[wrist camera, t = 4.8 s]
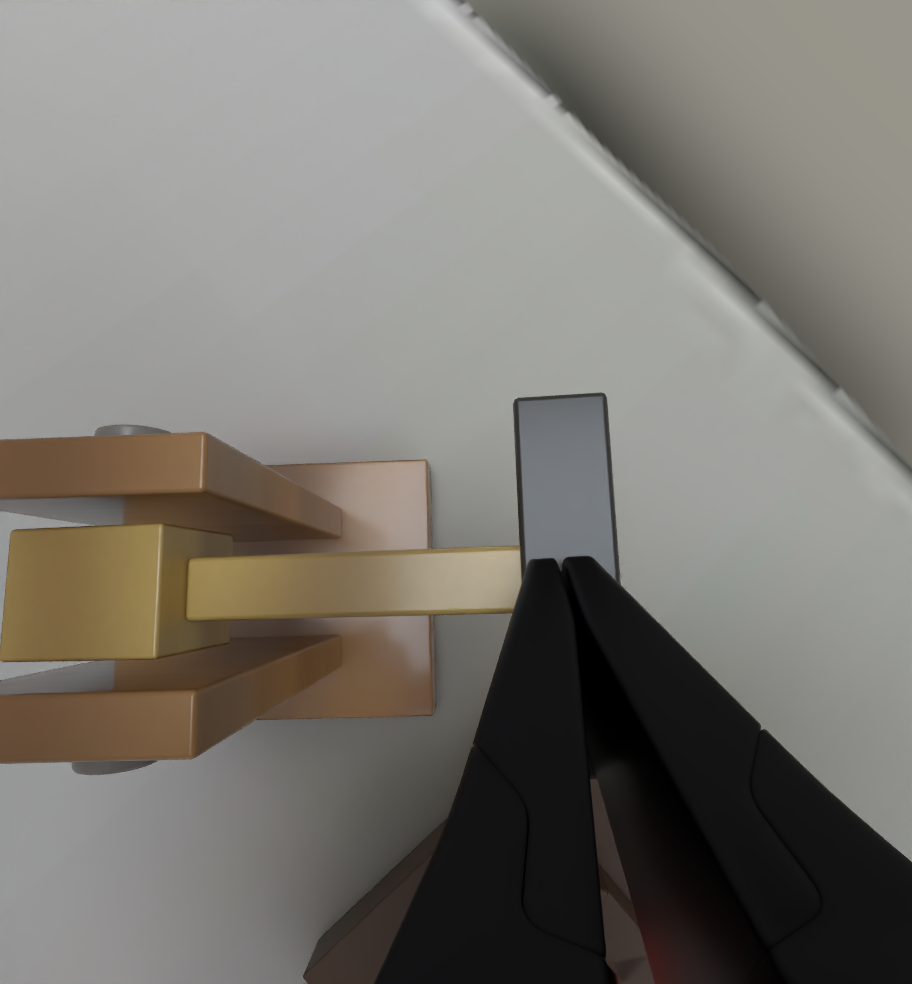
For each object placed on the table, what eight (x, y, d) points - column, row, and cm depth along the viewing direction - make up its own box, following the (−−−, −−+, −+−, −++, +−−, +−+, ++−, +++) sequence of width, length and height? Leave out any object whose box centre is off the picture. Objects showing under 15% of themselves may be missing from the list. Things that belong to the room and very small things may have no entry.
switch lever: (593, 422, 11) (611, 381, 9) (615, 745, 11) (642, 791, 8) (113, 451, 13) (18, 421, 10) (95, 744, 12) (-14, 786, 9)
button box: (737, 923, 18) (800, 1005, 14) (492, 1172, 17) (497, 1323, 13) (555, 715, 19) (574, 745, 15) (318, 940, 18) (280, 1024, 14)
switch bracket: (429, 466, 20) (379, 334, 9) (435, 707, 19) (385, 868, 8) (145, 476, 20) (-215, 359, 10) (132, 715, 19) (-298, 881, 8)
